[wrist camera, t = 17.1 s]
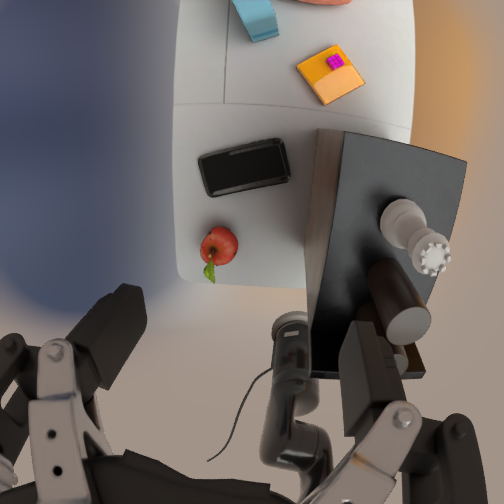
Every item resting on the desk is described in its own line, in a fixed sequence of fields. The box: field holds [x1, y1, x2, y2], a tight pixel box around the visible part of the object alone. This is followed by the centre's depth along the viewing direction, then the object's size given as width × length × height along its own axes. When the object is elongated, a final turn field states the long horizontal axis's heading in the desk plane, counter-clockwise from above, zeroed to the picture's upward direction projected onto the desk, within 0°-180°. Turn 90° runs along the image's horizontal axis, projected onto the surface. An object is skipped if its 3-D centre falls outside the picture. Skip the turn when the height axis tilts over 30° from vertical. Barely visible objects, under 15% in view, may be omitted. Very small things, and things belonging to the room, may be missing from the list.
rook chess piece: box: [380, 199, 451, 276], centre depth 20 cm, size 4×4×8 cm
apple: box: [200, 227, 238, 283], centre depth 49 cm, size 8×7×10 cm
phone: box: [198, 138, 291, 198], centre depth 46 cm, size 8×1×15 cm
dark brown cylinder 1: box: [367, 258, 431, 345], centre depth 22 cm, size 4×4×8 cm
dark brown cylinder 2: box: [355, 301, 408, 376], centre depth 24 cm, size 4×4×8 cm
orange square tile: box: [297, 44, 365, 106], centre depth 36 cm, size 8×8×4 cm
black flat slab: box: [308, 131, 467, 380], centre depth 23 cm, size 22×13×7 cm, turn 177°
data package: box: [232, 0, 279, 42], centre depth 29 cm, size 12×4×12 cm, turn 19°
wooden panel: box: [304, 128, 342, 330], centre depth 36 cm, size 22×13×23 cm, turn 177°
